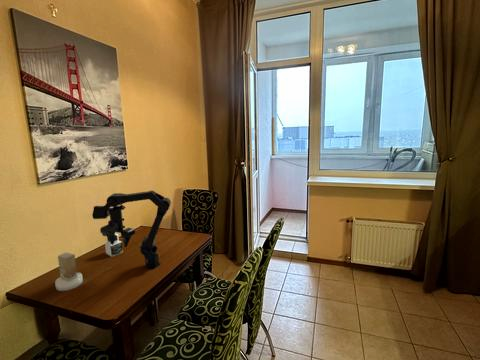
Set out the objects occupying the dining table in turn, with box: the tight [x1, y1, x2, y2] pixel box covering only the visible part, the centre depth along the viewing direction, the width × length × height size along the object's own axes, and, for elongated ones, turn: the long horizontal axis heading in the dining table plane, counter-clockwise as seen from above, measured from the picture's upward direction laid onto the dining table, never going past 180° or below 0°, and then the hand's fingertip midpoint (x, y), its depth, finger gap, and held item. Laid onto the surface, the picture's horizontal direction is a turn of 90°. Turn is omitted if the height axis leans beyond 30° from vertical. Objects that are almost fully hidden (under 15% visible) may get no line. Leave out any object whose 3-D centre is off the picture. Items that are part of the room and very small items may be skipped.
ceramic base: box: [54, 272, 84, 292], centre depth 124 cm, size 11×11×3 cm
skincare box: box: [57, 252, 77, 282], centre depth 123 cm, size 6×4×12 cm
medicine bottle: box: [104, 232, 124, 257], centre depth 155 cm, size 7×7×12 cm
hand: (119, 245), depth 136 cm, fingers open, 9 cm apart
